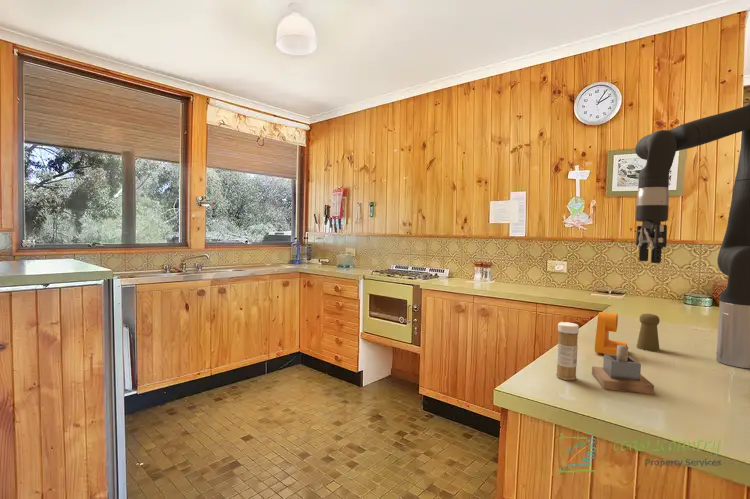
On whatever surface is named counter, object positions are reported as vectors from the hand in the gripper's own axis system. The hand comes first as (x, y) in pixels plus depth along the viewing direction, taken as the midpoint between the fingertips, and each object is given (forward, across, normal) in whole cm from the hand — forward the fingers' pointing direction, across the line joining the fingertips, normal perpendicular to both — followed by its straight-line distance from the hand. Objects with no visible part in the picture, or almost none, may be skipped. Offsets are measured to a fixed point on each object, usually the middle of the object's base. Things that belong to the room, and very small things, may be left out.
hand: (649, 262), depth 113 cm
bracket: (+28, +5, +7) cm, 30 cm away
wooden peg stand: (+28, -23, +13) cm, 39 cm away
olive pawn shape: (+28, +14, -6) cm, 32 cm away
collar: (+26, -23, +13) cm, 37 cm away
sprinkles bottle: (+28, -23, +25) cm, 44 cm away
